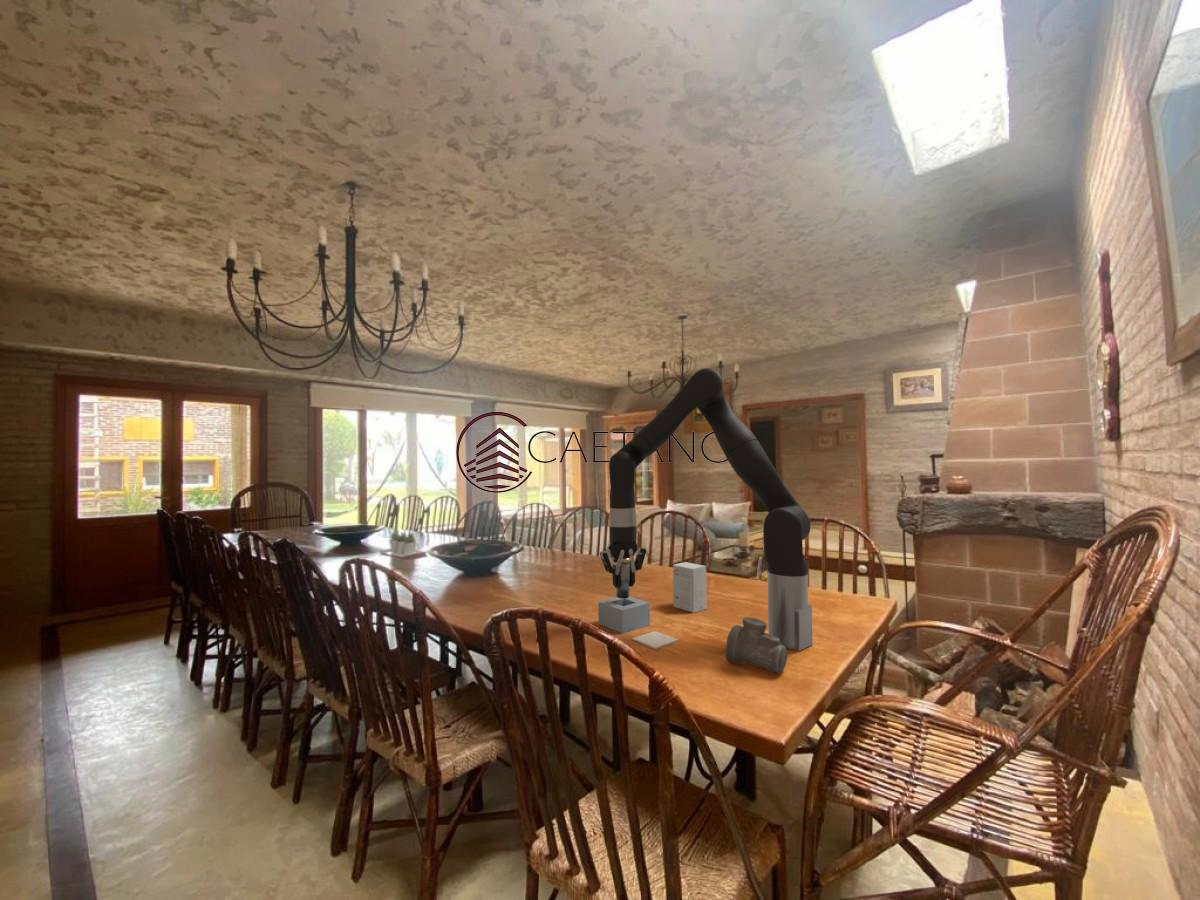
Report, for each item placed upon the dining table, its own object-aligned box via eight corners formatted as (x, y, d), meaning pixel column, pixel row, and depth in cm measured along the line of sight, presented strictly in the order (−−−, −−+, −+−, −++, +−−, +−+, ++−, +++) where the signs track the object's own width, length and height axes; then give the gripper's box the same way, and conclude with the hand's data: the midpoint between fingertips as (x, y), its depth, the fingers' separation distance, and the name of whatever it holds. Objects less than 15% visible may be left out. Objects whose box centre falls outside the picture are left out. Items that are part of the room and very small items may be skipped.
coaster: (678, 641, 121) (678, 639, 121) (655, 649, 116) (655, 647, 116) (655, 632, 127) (655, 631, 127) (632, 639, 122) (632, 638, 122)
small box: (707, 609, 146) (706, 565, 147) (693, 613, 142) (692, 568, 143) (686, 603, 153) (685, 561, 153) (672, 607, 149) (672, 564, 149)
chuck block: (649, 625, 133) (649, 602, 133) (622, 633, 126) (622, 610, 127) (625, 616, 141) (625, 595, 141) (598, 623, 134) (598, 601, 134)
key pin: (627, 592, 137) (628, 554, 136) (632, 598, 133) (633, 559, 132) (613, 593, 135) (615, 555, 134) (618, 599, 132) (619, 559, 131)
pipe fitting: (720, 664, 106) (726, 617, 106) (734, 655, 112) (740, 611, 113) (776, 685, 99) (782, 635, 99) (787, 674, 105) (793, 627, 105)
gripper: (638, 521, 140) (639, 581, 140) (593, 524, 134) (594, 587, 134) (652, 523, 133) (653, 586, 133) (605, 527, 127) (606, 593, 127)
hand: (623, 586), depth 133 cm, fingers closed on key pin, 3 cm apart
